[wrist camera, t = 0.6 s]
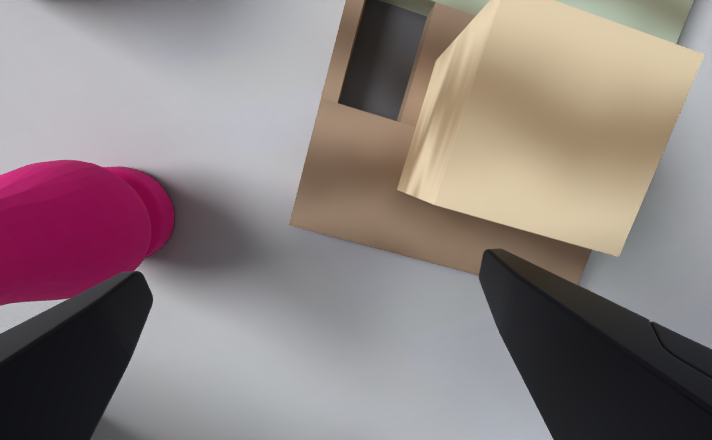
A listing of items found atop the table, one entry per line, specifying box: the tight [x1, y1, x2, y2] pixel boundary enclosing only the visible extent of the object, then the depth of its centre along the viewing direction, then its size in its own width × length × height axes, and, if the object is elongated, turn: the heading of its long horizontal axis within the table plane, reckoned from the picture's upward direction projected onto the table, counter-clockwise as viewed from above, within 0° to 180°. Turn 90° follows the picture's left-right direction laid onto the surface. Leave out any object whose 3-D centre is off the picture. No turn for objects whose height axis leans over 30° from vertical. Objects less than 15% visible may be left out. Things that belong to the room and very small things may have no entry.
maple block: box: [397, 0, 705, 257], centre depth 16 cm, size 8×8×8 cm
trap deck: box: [289, 0, 694, 285], centre depth 20 cm, size 24×20×2 cm
